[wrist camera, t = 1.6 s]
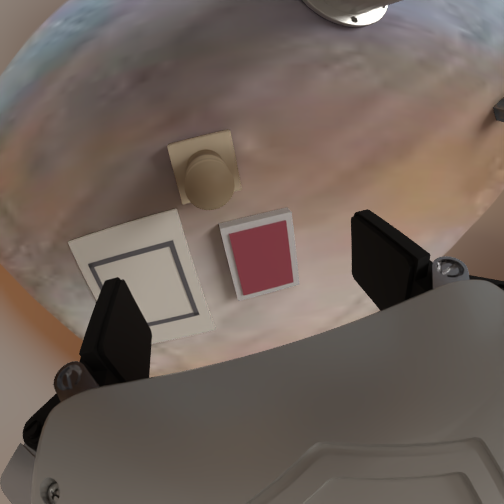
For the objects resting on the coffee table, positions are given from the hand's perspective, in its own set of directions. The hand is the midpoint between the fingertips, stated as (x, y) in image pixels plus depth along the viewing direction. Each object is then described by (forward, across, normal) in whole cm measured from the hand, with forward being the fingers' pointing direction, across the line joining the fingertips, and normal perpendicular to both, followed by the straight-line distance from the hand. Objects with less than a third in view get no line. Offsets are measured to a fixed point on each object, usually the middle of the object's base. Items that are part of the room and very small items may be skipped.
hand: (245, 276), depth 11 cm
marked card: (+20, +12, +12) cm, 27 cm away
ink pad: (+20, -3, +11) cm, 24 cm away
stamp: (+20, 0, -1) cm, 21 cm away
